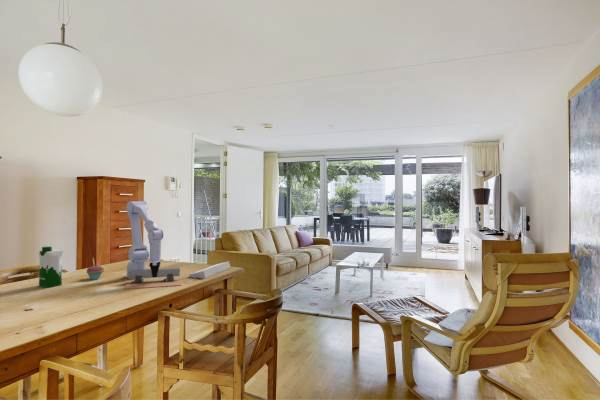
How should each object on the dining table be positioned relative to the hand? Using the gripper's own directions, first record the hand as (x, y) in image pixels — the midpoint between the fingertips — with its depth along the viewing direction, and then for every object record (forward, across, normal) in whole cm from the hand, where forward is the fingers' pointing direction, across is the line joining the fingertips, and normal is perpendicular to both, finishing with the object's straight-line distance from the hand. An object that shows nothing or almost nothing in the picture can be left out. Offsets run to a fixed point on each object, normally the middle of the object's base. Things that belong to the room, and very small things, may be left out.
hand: (154, 276), depth 193 cm
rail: (0, 0, 0) cm, 0 cm away
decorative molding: (+4, +16, -32) cm, 36 cm away
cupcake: (+3, +16, +31) cm, 35 cm away
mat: (+3, -10, 0) cm, 10 cm away
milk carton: (+3, +4, +50) cm, 50 cm away
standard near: (+3, 0, +8) cm, 8 cm away
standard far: (+3, 0, -8) cm, 8 cm away
